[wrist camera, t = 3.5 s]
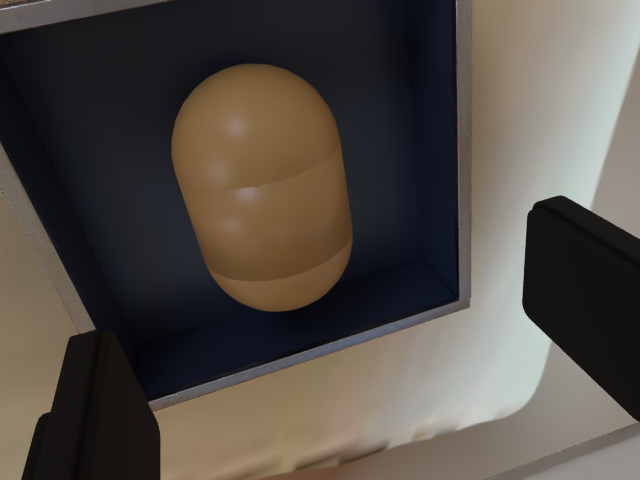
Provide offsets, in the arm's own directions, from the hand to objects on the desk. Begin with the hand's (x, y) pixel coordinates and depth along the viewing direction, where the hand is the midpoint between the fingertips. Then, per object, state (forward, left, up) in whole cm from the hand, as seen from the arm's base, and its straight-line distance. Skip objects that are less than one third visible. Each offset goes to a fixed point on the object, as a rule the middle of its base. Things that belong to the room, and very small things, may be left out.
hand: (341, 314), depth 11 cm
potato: (0, 0, -9) cm, 9 cm away
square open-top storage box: (0, 0, -9) cm, 9 cm away
